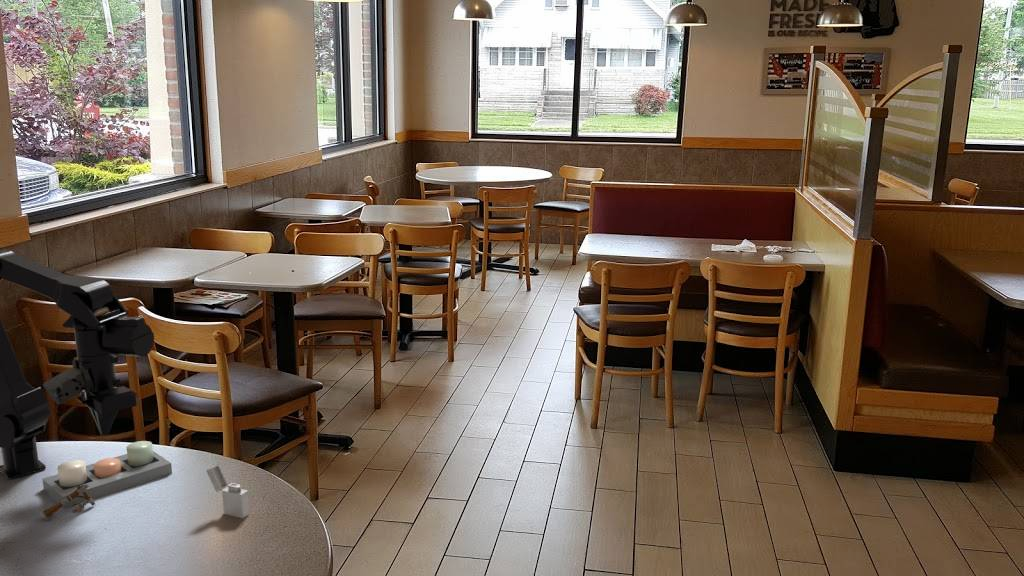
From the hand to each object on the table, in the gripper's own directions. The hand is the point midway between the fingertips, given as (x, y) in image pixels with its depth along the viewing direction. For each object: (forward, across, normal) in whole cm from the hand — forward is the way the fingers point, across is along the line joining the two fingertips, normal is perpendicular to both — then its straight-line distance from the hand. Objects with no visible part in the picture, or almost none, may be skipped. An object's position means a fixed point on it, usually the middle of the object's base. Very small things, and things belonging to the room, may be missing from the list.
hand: (104, 434), depth 157 cm
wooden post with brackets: (+9, +7, -10) cm, 15 cm away
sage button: (+7, 0, +6) cm, 9 cm away
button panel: (+9, 0, 0) cm, 9 cm away
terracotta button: (+9, 0, 0) cm, 9 cm away
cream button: (+7, 0, -6) cm, 9 cm away
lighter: (+9, +26, +9) cm, 29 cm away
